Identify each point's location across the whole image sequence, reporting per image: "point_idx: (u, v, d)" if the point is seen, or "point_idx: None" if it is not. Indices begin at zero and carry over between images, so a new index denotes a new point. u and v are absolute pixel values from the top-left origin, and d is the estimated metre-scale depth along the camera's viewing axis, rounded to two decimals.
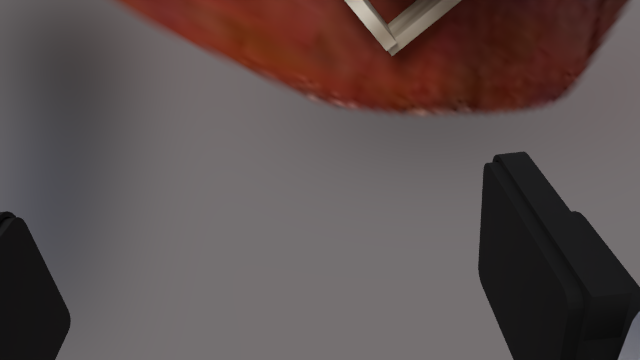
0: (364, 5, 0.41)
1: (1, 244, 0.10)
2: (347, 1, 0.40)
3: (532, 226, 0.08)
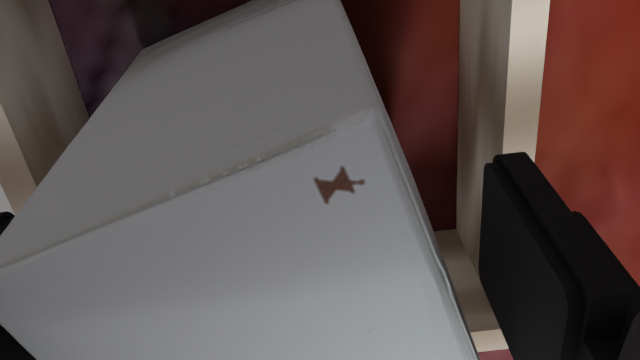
0: (515, 25, 0.15)
1: None
2: (540, 60, 0.15)
3: (532, 226, 0.08)
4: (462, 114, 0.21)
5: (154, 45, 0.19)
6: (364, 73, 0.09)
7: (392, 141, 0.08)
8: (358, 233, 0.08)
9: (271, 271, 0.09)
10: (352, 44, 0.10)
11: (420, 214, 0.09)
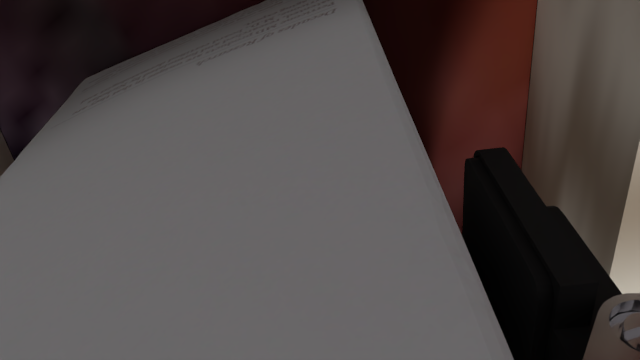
0: None
1: None
2: None
3: (507, 219, 0.09)
4: (530, 166, 0.15)
5: (100, 74, 0.13)
6: (484, 309, 0.03)
7: None
8: None
9: None
10: (425, 168, 0.05)
11: None
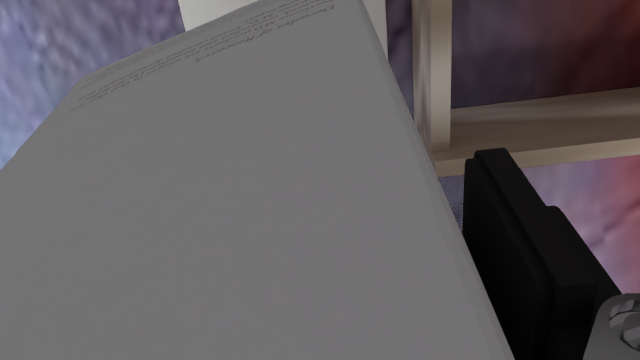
0: None
1: None
2: None
3: (507, 219, 0.09)
4: None
5: (98, 72, 0.13)
6: (482, 301, 0.03)
7: None
8: None
9: None
10: (423, 161, 0.05)
11: None
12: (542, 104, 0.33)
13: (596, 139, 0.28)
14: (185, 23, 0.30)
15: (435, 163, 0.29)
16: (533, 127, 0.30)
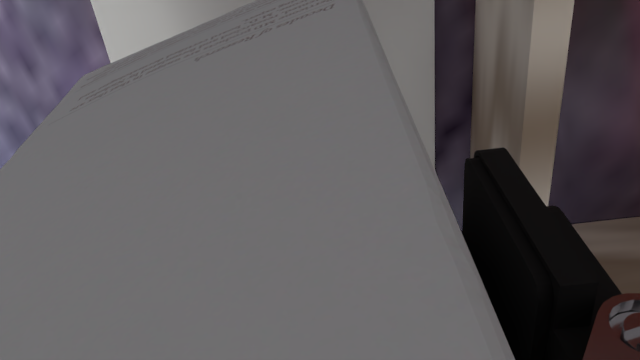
0: None
1: None
2: None
3: (507, 219, 0.09)
4: None
5: (98, 71, 0.13)
6: (481, 300, 0.03)
7: None
8: None
9: None
10: (423, 160, 0.05)
11: None
12: None
13: None
14: None
15: None
16: None
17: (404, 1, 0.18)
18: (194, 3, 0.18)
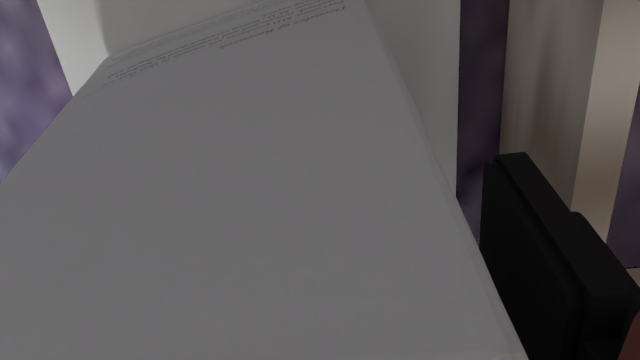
0: None
1: None
2: None
3: (532, 226, 0.08)
4: None
5: (123, 53, 0.14)
6: (461, 220, 0.05)
7: None
8: None
9: None
10: (421, 131, 0.06)
11: None
12: None
13: None
14: None
15: None
16: None
17: (423, 23, 0.15)
18: (171, 26, 0.15)
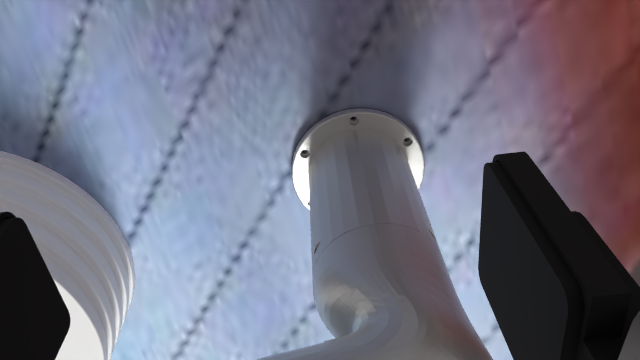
0: None
1: (1, 244, 0.10)
2: None
3: (532, 226, 0.08)
4: None
5: None
6: None
7: None
8: None
9: None
10: None
11: None
12: None
13: None
14: None
15: None
16: None
17: None
18: None
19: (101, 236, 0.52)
